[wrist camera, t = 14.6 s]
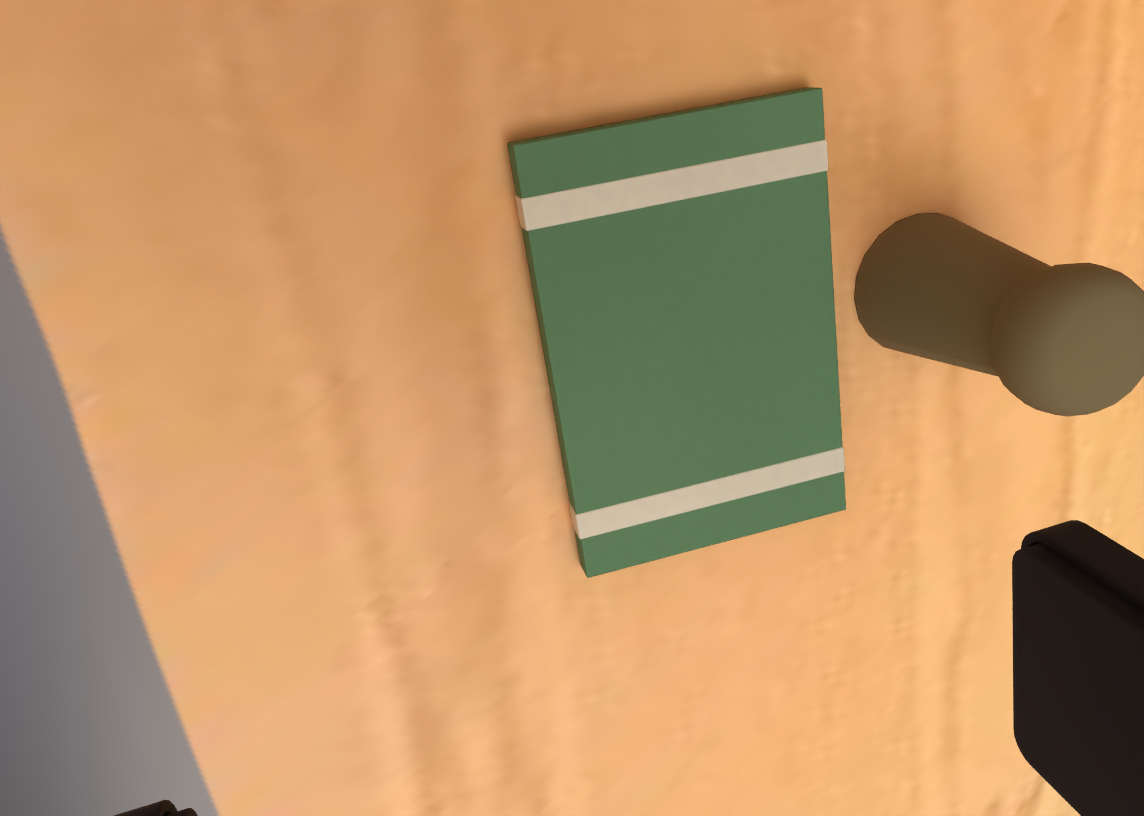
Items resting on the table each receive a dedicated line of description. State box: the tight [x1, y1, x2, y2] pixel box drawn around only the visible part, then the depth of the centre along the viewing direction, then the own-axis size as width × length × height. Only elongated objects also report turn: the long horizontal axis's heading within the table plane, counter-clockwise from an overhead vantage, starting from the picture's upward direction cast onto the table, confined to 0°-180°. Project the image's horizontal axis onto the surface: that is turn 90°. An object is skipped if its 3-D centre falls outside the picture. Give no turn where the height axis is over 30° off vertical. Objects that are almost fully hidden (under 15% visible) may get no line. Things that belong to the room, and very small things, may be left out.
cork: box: [855, 213, 1144, 416], centre depth 36 cm, size 6×6×11 cm
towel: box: [508, 87, 846, 578], centre depth 39 cm, size 18×12×1 cm
